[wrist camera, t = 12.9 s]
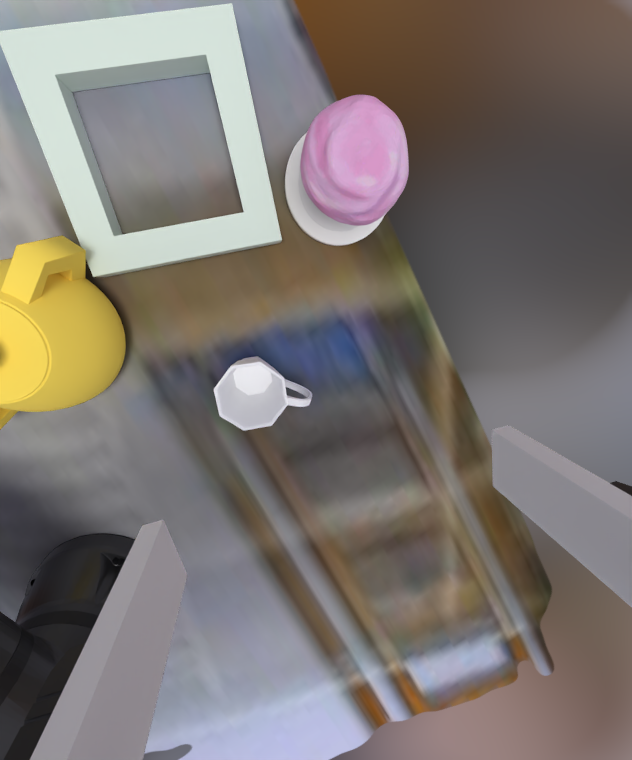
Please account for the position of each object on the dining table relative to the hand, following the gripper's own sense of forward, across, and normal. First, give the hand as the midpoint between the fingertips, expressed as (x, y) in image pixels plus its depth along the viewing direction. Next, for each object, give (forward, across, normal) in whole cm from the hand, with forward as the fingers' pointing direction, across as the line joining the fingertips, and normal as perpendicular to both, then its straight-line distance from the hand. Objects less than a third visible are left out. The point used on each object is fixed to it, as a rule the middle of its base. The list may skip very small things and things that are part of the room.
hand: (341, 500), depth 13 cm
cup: (+27, -3, -2) cm, 27 cm away
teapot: (+27, -24, +9) cm, 37 cm away
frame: (+27, -7, +21) cm, 35 cm away
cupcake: (+26, +9, +16) cm, 31 cm away
